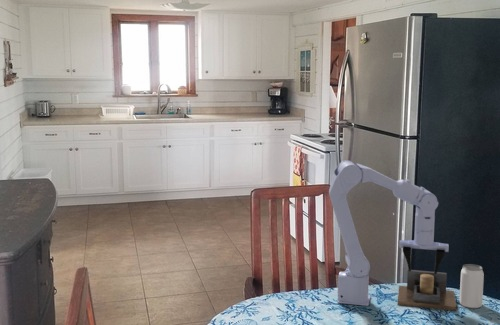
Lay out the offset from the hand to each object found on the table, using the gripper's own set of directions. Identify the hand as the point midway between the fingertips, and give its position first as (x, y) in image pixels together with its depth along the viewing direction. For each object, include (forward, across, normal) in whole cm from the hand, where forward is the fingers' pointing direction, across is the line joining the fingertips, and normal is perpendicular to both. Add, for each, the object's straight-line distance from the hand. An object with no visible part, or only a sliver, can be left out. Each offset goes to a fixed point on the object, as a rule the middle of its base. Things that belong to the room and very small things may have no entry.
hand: (422, 271), depth 172 cm
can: (+10, +14, 0) cm, 17 cm away
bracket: (+9, +1, +1) cm, 9 cm away
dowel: (+8, +1, -1) cm, 8 cm away
